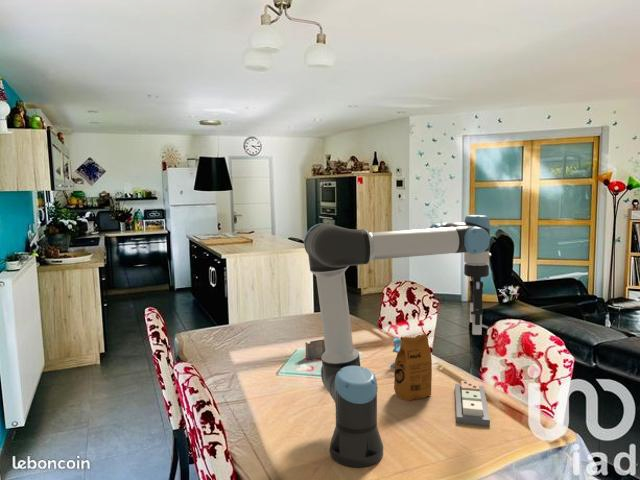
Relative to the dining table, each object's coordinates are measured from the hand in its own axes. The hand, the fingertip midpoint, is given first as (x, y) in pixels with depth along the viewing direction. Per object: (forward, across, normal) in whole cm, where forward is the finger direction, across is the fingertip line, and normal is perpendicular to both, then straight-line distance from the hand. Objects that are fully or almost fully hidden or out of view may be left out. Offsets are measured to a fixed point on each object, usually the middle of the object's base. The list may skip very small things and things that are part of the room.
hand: (475, 328), depth 156 cm
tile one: (+27, -3, +1) cm, 27 cm away
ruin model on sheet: (+29, +40, +63) cm, 81 cm away
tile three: (+27, +13, 0) cm, 30 cm away
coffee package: (+29, +10, +20) cm, 37 cm away
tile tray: (+29, +5, +1) cm, 29 cm away
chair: (+29, +38, +26) cm, 55 cm away
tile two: (+27, +5, +1) cm, 28 cm away
